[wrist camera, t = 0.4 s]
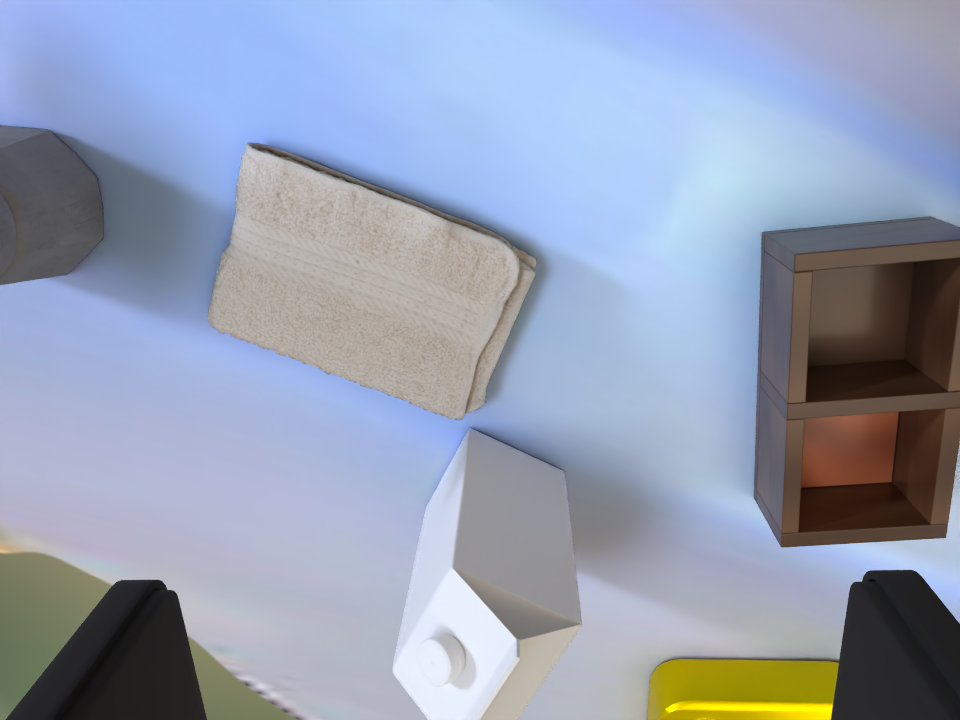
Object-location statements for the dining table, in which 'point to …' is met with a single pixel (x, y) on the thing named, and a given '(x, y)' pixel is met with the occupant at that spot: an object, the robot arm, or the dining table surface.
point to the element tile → (742, 690)
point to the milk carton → (489, 586)
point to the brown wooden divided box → (858, 381)
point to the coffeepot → (44, 206)
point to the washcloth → (367, 283)
